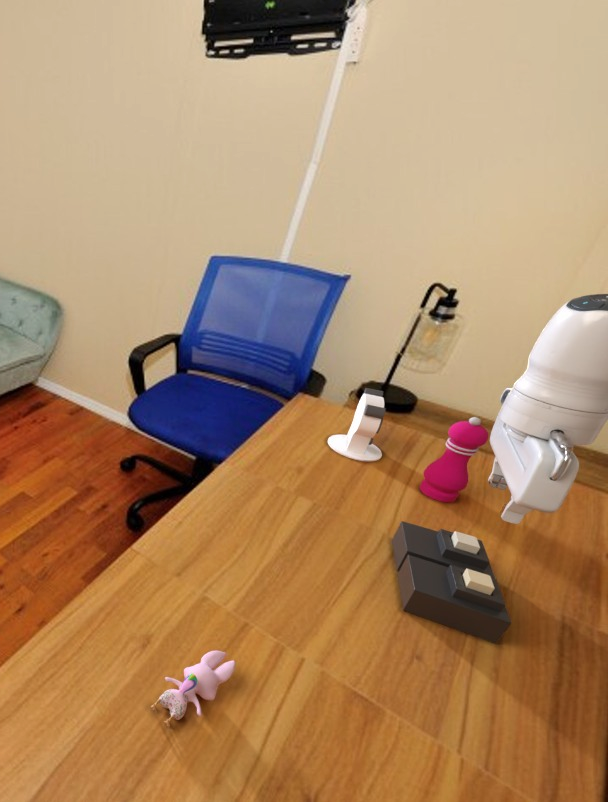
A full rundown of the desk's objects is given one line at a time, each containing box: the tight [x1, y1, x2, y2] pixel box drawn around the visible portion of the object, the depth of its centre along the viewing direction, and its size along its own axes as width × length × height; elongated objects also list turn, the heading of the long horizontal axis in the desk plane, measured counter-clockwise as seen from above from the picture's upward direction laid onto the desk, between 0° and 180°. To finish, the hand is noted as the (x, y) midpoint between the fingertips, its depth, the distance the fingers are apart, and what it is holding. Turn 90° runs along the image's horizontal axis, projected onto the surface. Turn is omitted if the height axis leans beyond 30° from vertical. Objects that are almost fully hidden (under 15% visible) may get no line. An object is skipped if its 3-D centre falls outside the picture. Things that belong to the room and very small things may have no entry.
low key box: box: [391, 520, 496, 579], centre depth 93 cm, size 12×9×7 cm
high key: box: [462, 568, 495, 595], centre depth 83 cm, size 3×3×2 cm
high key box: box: [397, 555, 512, 645], centre depth 86 cm, size 12×9×7 cm
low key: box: [451, 530, 480, 554], centre depth 90 cm, size 3×3×2 cm
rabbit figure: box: [150, 650, 236, 728], centre depth 74 cm, size 6×6×15 cm
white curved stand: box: [327, 387, 387, 463], centre depth 125 cm, size 12×11×15 cm
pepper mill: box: [419, 416, 489, 503], centre depth 109 cm, size 7×7×20 cm
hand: (501, 502), depth 72 cm, fingers open, 8 cm apart
